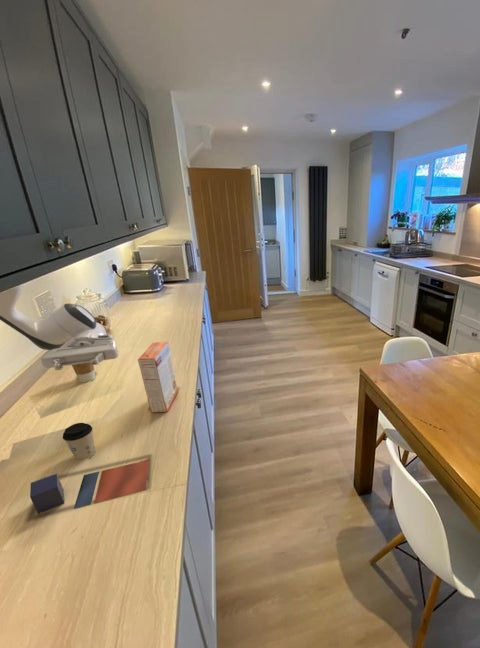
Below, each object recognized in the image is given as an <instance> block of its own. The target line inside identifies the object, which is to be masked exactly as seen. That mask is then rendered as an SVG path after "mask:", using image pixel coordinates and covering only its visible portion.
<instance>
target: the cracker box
mask: <svg viewBox="0 0 480 648" xmlns="http://www.w3.org/2000/svg"><path fill="white" fill-rule="evenodd" d="M137 362H138V366H139V370H140V374H141V378H142V382H143V386H144V389H145V393H146V397H147V401H148V406H149V410H150V413H167V412H168V411H169V410H170V408H171V406H172V404H173V401H174V400H175V398H176V395H177V394H178V393H179V388H178V382H177V379H176V374H175V368H174V364H173V357H172V353H171V347H170V343H169V341H164V342H163V341H162V342H159V341H158V342H157V341H156V342H154V341H153V342H152V343H151V344H150V345H149V347H147V349H146V350H145V351H144V352H143V353H142V355H140V356H139V358H138V359H137Z"/></svg>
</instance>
